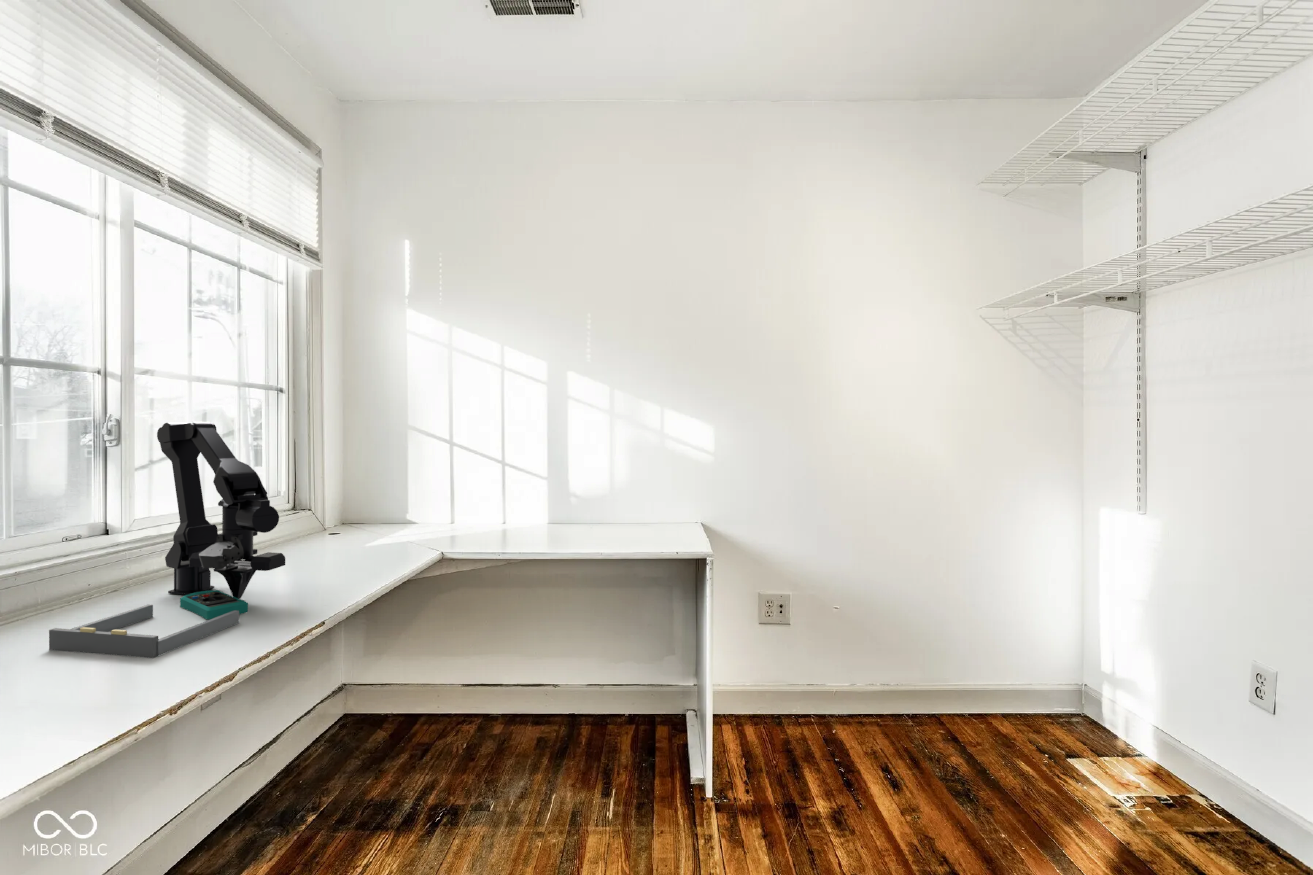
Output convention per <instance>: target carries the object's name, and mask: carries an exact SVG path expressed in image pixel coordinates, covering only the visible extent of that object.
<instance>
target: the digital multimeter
mask: <svg viewBox="0 0 1313 875" xmlns="http://www.w3.org/2000/svg"><path fill="white" fill-rule="evenodd" d="M179 607H180V608H182V609H184V610H186V611H189V612H190V613H194V614H195V615H197V616H200V617H202V618H203V619H205V620H206V621H208V620H210V619H213V618H216V617H218V616H221V615H223V614H226V613H229V612H231V611H234V610H237V611H239V615H242V614H246V613H247V612H248V611H249V603H248V602H247V601H246V600H243V599H242V598H240V599H238V598H235V597H233V595H230V594H228V593H225V592H224V591H221V590H219V589H214V590H213V589H210V590H207V591H201V592H196V593H192V594H188V595H187V594H183V596H182V597H180V599H179Z"/></svg>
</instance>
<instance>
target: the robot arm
mask: <svg viewBox="0 0 1313 875" xmlns="http://www.w3.org/2000/svg"><path fill="white" fill-rule="evenodd" d="M156 438H157V441H158V442H159V445H160V450H161V452H162V453H163V455H164V456H166V457H167V458H168V459H169V461H171V465H172V472H173V480H174V487H175V494H176V501H177V510H178V516H179V523H180V524H179V525H178V527H177V528H176V531H175V532H174V534H173V537H172V538H173V545H172V546H171V547H170V549H169V551H168V552H167V554H166V556H164V557H165V558H164V561H165V565H166V567H168V568H172V569H173V589H171V590H168V591H167V593H168V594H173V595H174V594H176V595H188V594H192V593H196V592H201V591H209V590H213V589H215V585H211V573H212V572H211V570H210V569H213V572H215V573H216V572H217V573H219V574H220V575H221V576H223V578H224V579H225V581H226V583H227V586H228V587H229V590H230V593H231V596H233V597H235V598H238V599H242V597H243V595H244V593H245V591H246V589H247V587H248V585H249V583H250V581H251V579H252V578H253V576H254V575H255V573H256V571H264V572H265V571H266V572H267V571H272V570H275V569H278V568H281V567H283V566H286V556H285V555H284V553H283V552H269V551H268V552H264V553H261V554H258V549H257V548H254V537H256V536H258V533H263V534H265V533H270V532H271V531H273V530H274V529H276V528H277V525H278V523H279V521H280V514H279V512H278V511H277V509H276V508H275V507H274V506H271V500H270V499H269V498H268V492H267V490H266V488H265V486H264V485H263V482H262V481H261V478H260V476H259V474H258V473H257V472H256V471H255V469H253V468H252V467H251V466H250V464H247V463H245V462H242V461H240V460H239V459H237V457H236V456H235V455H234V453H233V452H232V451H231V449H230V448H229V447H228V445H227V444H226V443H225V441H224V439H223V438H222V436H221V434H219V433H218V431H217V426H216V425H215V423H214V422H213V423H212V422H211V421H191V422H165V423H164V424H162V425H161V427H159V428H158V430H157V433H156ZM200 453H201V455H202V456H203V458H204V459H205V462H207V464H208V465H209V467H210V468H211V469H212V471H213V473H214V477H213V482H212V483H213V485H214V486H215V489H216V492H217V493H218V494H219V496H220V497H221V498H222V499H221V500H219V501H218V503H217V506H219V507H222V509H221V510H222V515H221V516H222V517H221V518H222V523H221V524H222V525H221V526H222V528H221V532H220V533H219V532H218V527H217V525H216V524H212V523H211V522H209V521H208V519H207V518H206V512H205V506H204V497H203V496H204V495H203V491H202V482H201V476H200V475H201V474H200V469H199V463H198V458H199V456H200ZM257 554H258V555H257Z"/></svg>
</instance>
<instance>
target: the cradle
mask: <svg viewBox="0 0 1313 875" xmlns="http://www.w3.org/2000/svg"><path fill="white" fill-rule="evenodd" d="M153 617H154V605H153V604H146V605H143V606H139V607H136V608H133V609H130V610H126V611H123V612H120V613H117V614H114V615H113V614H112V615H111V616H107V617H103V618H102V619H97V620H95V621H92V622H88V623H84V624H82V625H79V626H76V627H75V626H74V627H72V628H59V627H54V628H50V629H49V630H48V650H49V651H56V652H57V651H58V652H59V651H60V652H70V653H71V652H72V653H83V654H96V655H98V654H99V655H108V656H109V655H110V656H122V657H133V658H134V657H135V658H148V659H154V658H157V657H159V656H162V655H164V654H167V653H170V652H171V651H174V650H177V649H179V648H182V647H185V646H187V645H189V644H191V643H193V642H196V641H198V640H201V639H203V638H207V637H208V636H211V635H213V634H216V633H218V632H221V631H223V630H225V629H228V628H230V627H233V626H235V625H237V624H240V614H239V611H237V610H234V611H231V612H229V613H226V614H223V615H221V616H218V617H216V618H213V619H210V620H205V621H203V622H200V623H197V624H195V625H192V626H189V627H187V628H185V629H181V630H179V631H175V632H174V633H171V634H168V635H165V636H163V637H160V638H159V635H153V634H152V635H151V634H141V633H140V634H139V633H128V631H127V630H126V629H125V630H124V629H121V628H125V627H127V626H130V625H134V624H136V623H138V622H143V621H145V620H148V619H151V618H153Z"/></svg>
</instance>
